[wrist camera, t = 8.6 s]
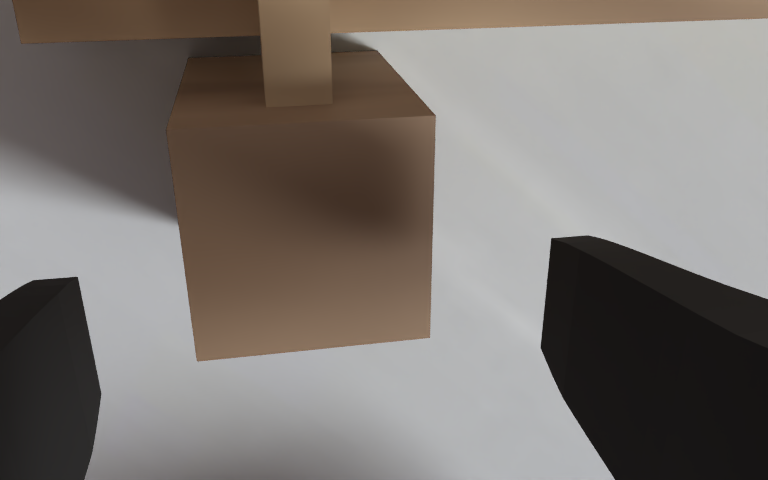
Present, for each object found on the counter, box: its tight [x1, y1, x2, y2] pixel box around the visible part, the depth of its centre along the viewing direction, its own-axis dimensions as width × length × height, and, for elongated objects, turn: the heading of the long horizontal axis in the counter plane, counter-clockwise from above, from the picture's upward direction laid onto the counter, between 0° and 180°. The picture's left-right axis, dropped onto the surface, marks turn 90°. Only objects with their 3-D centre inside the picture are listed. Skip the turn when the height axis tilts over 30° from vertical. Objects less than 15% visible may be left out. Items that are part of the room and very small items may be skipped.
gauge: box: [166, 0, 436, 361], centre depth 15 cm, size 9×4×6 cm, turn 0°
